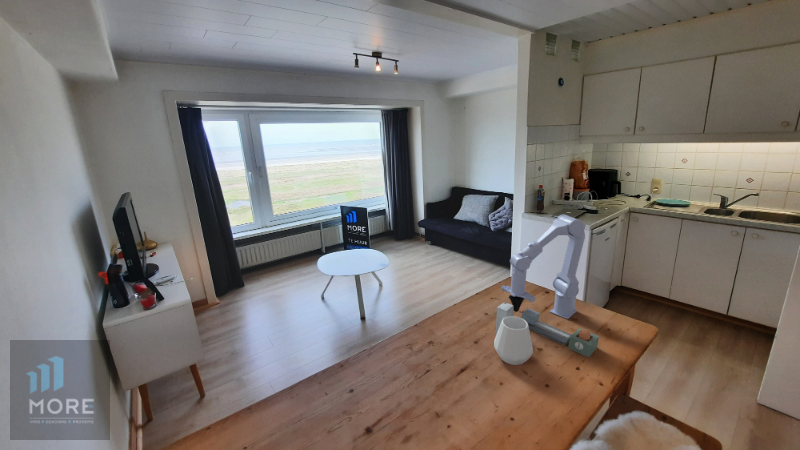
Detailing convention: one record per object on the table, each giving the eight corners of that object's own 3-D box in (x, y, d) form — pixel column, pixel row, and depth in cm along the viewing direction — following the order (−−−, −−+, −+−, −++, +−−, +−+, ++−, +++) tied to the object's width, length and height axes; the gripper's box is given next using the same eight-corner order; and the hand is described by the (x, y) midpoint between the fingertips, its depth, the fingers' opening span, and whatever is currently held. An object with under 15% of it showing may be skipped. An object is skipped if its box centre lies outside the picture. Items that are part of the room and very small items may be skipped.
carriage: (527, 316, 139) (528, 308, 138) (538, 321, 135) (539, 313, 134) (521, 320, 136) (522, 312, 135) (532, 325, 132) (533, 317, 131)
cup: (489, 362, 115) (491, 328, 111) (497, 340, 126) (499, 309, 123) (529, 373, 109) (533, 338, 105) (534, 350, 120) (537, 317, 116)
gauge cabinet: (577, 339, 126) (579, 328, 124) (597, 347, 121) (599, 336, 119) (567, 348, 121) (569, 337, 119) (588, 358, 115) (589, 345, 114)
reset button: (580, 338, 122) (581, 328, 121) (590, 342, 120) (592, 333, 119) (576, 342, 120) (577, 332, 119) (586, 347, 118) (588, 337, 116)
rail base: (525, 317, 141) (525, 313, 141) (572, 338, 126) (573, 333, 126) (516, 323, 137) (516, 319, 136) (564, 345, 122) (565, 340, 122)
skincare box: (505, 338, 128) (506, 311, 124) (494, 334, 131) (496, 307, 127) (512, 331, 132) (514, 305, 128) (502, 327, 135) (504, 301, 131)
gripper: (497, 279, 139) (496, 307, 143) (529, 291, 128) (527, 321, 132) (507, 274, 144) (505, 302, 147) (538, 285, 133) (535, 314, 137)
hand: (516, 310), depth 140 cm, fingers closed
